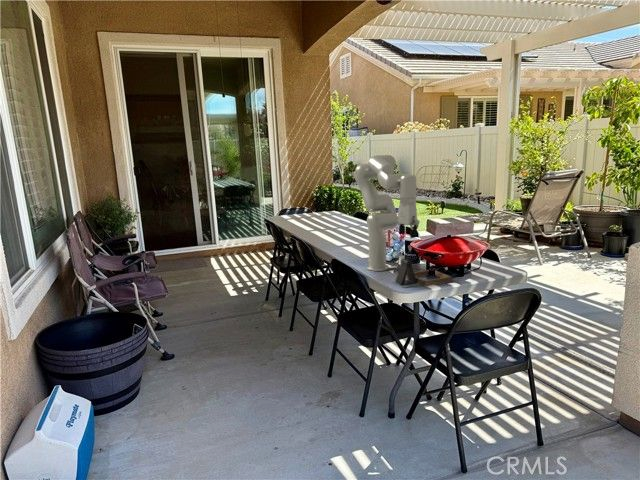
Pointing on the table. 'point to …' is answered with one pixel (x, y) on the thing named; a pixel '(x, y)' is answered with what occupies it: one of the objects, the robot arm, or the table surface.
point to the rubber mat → (407, 285)
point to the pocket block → (441, 280)
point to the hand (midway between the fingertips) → (407, 235)
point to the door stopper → (406, 273)
